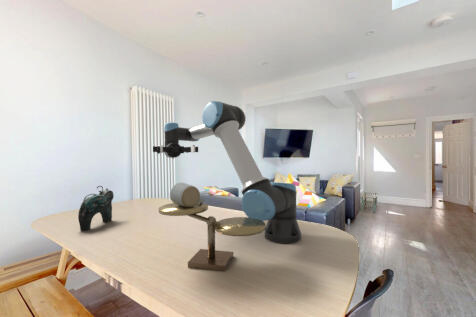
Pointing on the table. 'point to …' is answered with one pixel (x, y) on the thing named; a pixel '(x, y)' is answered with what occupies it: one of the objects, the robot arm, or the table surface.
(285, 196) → the robot arm
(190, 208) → the balance
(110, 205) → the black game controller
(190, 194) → the ceramic mug
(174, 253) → the table surface
